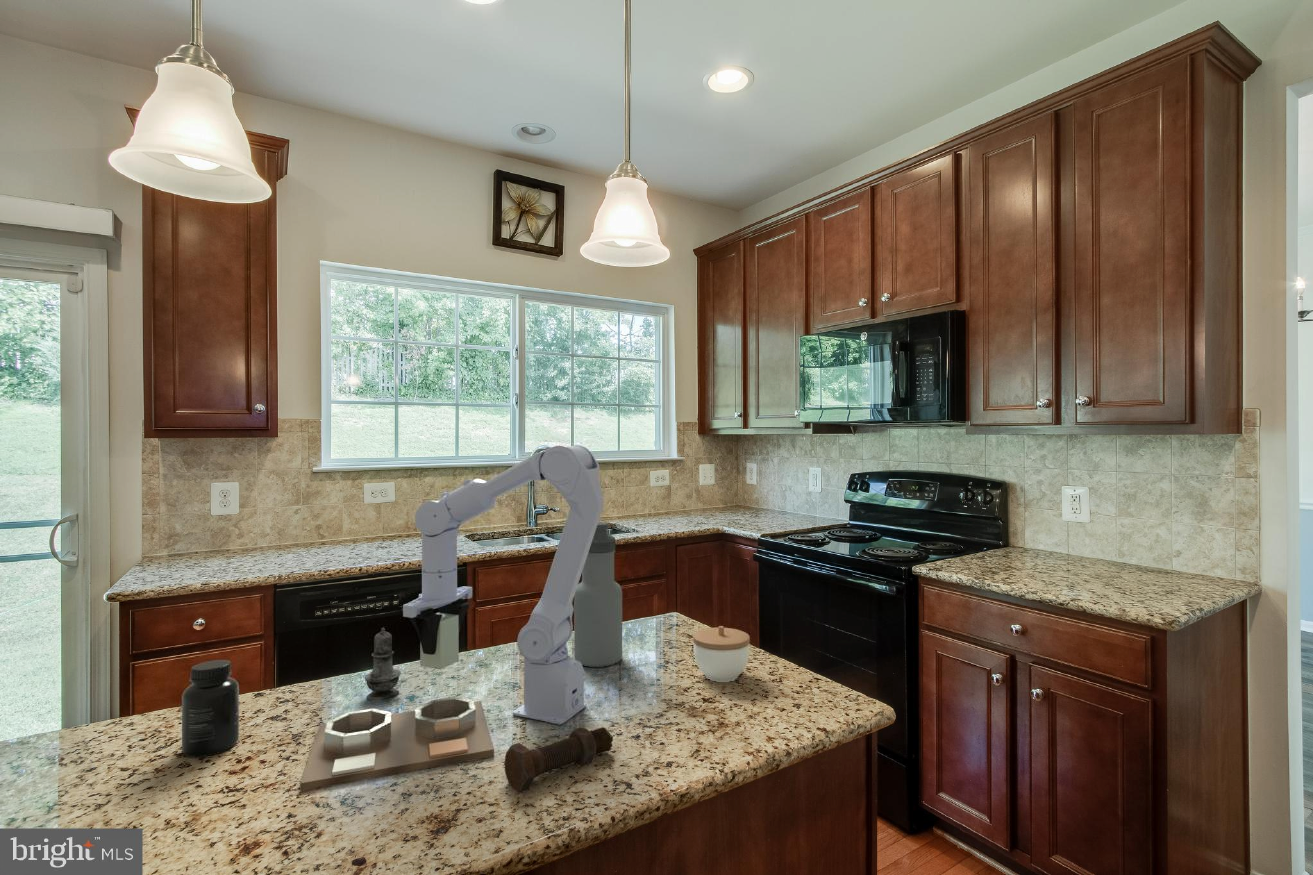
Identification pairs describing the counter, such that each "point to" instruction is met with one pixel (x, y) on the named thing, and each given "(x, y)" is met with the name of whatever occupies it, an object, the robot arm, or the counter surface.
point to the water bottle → (598, 605)
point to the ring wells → (382, 725)
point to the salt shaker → (382, 670)
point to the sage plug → (444, 644)
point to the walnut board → (396, 752)
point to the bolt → (554, 756)
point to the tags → (369, 759)
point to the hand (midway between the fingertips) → (439, 649)
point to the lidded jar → (721, 652)
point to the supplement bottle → (210, 710)
